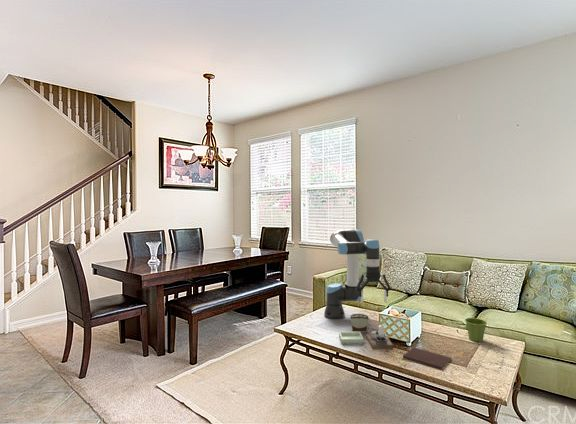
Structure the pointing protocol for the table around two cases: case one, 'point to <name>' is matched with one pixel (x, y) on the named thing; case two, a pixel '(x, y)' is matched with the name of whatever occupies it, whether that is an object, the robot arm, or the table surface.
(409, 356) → the notebook
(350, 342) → the tray
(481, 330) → the plant pot
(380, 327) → the pin
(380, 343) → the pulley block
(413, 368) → the table surface
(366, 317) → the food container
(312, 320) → the table surface
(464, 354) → the table surface
